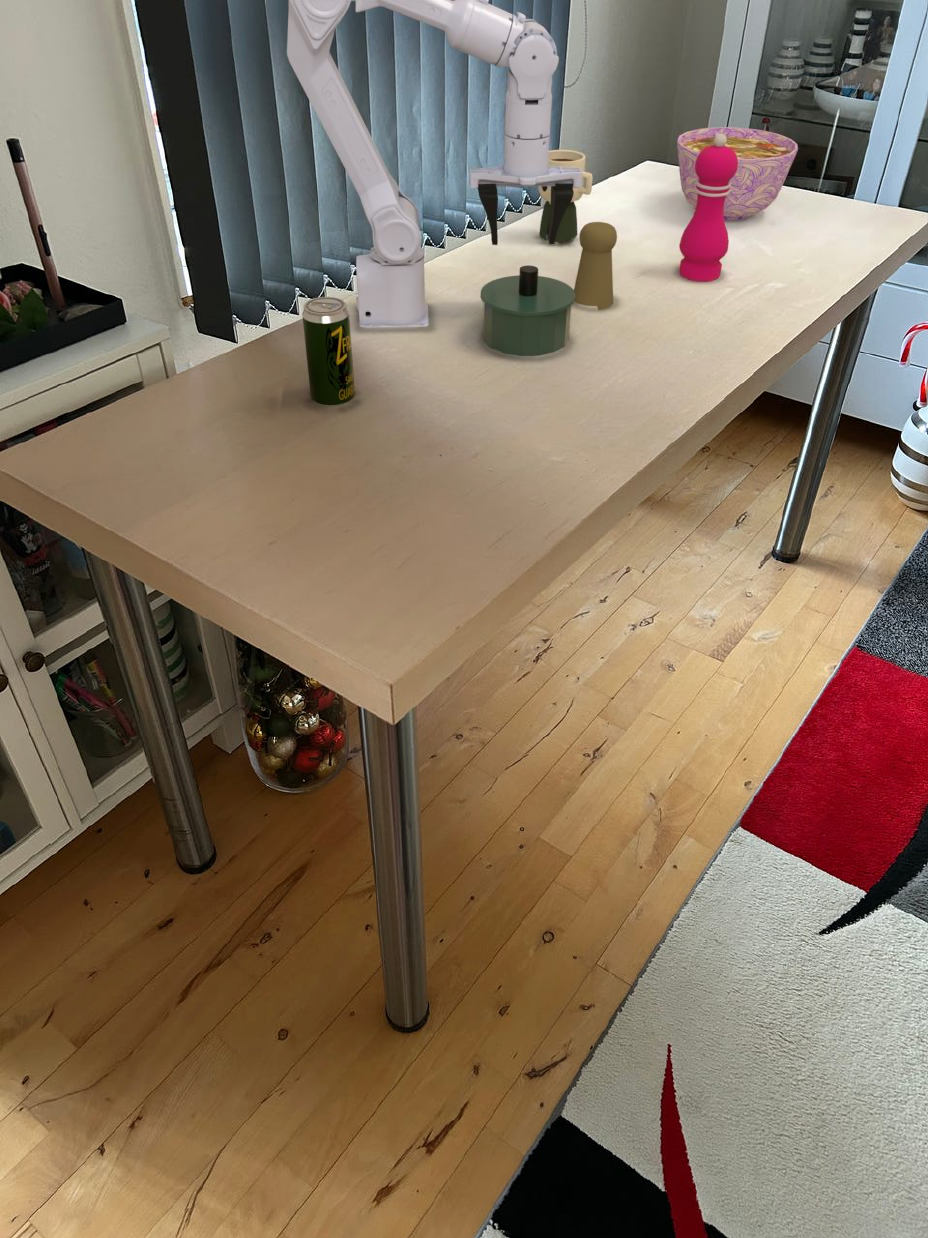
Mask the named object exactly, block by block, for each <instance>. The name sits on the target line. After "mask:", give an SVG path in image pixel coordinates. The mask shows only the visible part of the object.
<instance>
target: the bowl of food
mask: <svg viewBox="0 0 928 1238" xmlns="http://www.w3.org/2000/svg"><path fill="white" fill-rule="evenodd" d="M718 134H724V135H725V136H726V139H727V141H726V144H725V145H724V146H727V147H729V148H731V149H732V150H733V151H734V152H735V153H736V155H737V158H738V168H737V171H736V174H735V175H734V176H733V177H732V178H731V179H730V181H729V182H730V183H731V187H730V189H729V190H730V193H729V194H728V195H726V198H725V202H724V210H723V213H724V221H727V222H728V221H730V222H731V221H734V222H735V221H740V220H741V221H742V220H744V219H747V218H748V217H749V216H752V215H755V214H757V213H760V212H762V211H764V210H766V209H767V208H768V207H770V205H772V203H773V202H774V201H775V200H776V199H777V197H778V196H779V194H780V192H781V189H782V188H783V186H784V183H785V181H786V178H787V176H788V174H789V171H790V169H791V167H792V165H793V163H794V160H795V159H796V156H797V153H798V150H799V147H798V143H797V142H795V141H794V140H793V139H792V138H789V137H788V136H784V135H782V134H779V133H775V132H772V131H768V130H762V129H755V128H748V127H735V126H733V127H732V126H719V127H718V126H716V127H704V128H697V129H692V130H689V131H686V132H684V133H682V134H680V135H679V136H678V138H677V141H676V144H677V145H676V146H677V156H678V158H677V159H678V170H679V171H678V172H679V181H680V187H681V191H682V193H683V195H684V198H685V199H686V201H687V202H688V203H689V204H690V205H691V206H693V208H695V209H696V204H697V194H698V193H697V192H696V191H695V188H696V181H697V180H699V177H698V176H697V174H696V172H695V163H696V159H697V157H698V155H699V153H700V152H701V151H702V150H703V149H704V148H706V147H708V146H711V145H714V138H715V137H716V136H717V135H718Z"/></svg>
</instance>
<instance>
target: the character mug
mask: <svg viewBox="0 0 928 1238" xmlns="http://www.w3.org/2000/svg"><path fill="white" fill-rule="evenodd" d="M586 161H587V160H586V155H585V154H584V153H583V152H581V151H577V150H573V149H572V150H571V149H552V150H549V161H548V166H558V167H569V168H581V170H582V172H583V174H582V187H581V188H574V187H573V191H574V195H573V198H572V201H571V202H570V204H569V206H568V207H567V209H566V211H565V213H564V215H563V218H562V220H561V222H560V225H559V228H558V231H557V235H556V239H555V243H567V242H570V241H573V239H575V238H576V237H578V214H577V205H576V203H575V202H576V201H579V200H580V199H581V198H583V195H585V196H589V195H591V193H592V189H593V174H592V173H591V172H587V171H586ZM584 185H585V187H584ZM538 192H539V196H540V197H541V199H543V200H544V201H545V203H544V205H543V208H542V213H541V219H540V225H539V233H538V236H539V238H540V239H542V240H544V241H547V238H548V228H549V220H550V209H551V186H538Z"/></svg>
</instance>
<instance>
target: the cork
mask: <svg viewBox="0 0 928 1238" xmlns="http://www.w3.org/2000/svg"><path fill="white" fill-rule="evenodd" d="M617 233H618V232H617V230H616V227H615V226H614V225H612V224H611V223H608V222H604V221H591V222H588V223H586V224H584V225H583V227H582V228H581V229H580V232H579V243H580V247H581V248H582V249H581V254H580V259H579V264H578V267H577V268H578V269H577V273H576V278H575V283H574V288H573V290H574V292H575V301H574V303H575V302H576V303H577V304H580V305H583V306H588V307H597V310H598V311H600V310H605V309H609V308H611V307H613V305H614V282H613V281H614V280H613V279H614V278H613V251H612V250H613V249H614V248H615V246H616V244H617V242H618V234H617Z"/></svg>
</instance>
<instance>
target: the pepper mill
mask: <svg viewBox="0 0 928 1238" xmlns="http://www.w3.org/2000/svg"><path fill="white" fill-rule="evenodd" d="M726 141H727V139H726V136H725V135H724V134H718V135H717V136H716V137H715V138H714V145H711V146H708V147H706V148H704V149H703V150H702V151H701V152H700V153H699V155H698V157H697V159H696V163H695V172H696V174H697V176H698V177H699V180H697V181H696V188H695V191H696V192H697V193H698V194H697V204H696V208H695V209H694V212H693V214H692V217H691V218H690V220H689V222H688V224H687V226H686V227H685V228H684V231H683V232H682V235H681V237H680V241H679V245H678V246H679V251H680V253H681V255H682V256H683V258H681V260H680V262H679V269H678V273H679V274H680V276H681V277H682V278H684V279H686V280H690V281H693V282H694V281H695V282H712V281H715V280H718V279H719V278H720V277H721V274H722V273H721V272H722V267H723V263H722V262H721V261H720V260H722V259H723V258H724V257H725V255H726V254H727V253H728V251H729V241H730V239H729V233H728V229H727V225H726V220H724V213H723V210H724V202H725V198H726V195H728V194H729V193H730V190H729V189H730V187H731V183H730V182H729V181H730V179H731V178H732V177H733V176H734V175H735V174H736V171H737V168H738V158H737V155H736V153H735V152H734V151H733V150H732V149H731V148H729V147H727V146H724V145H725V144H726Z"/></svg>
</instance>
